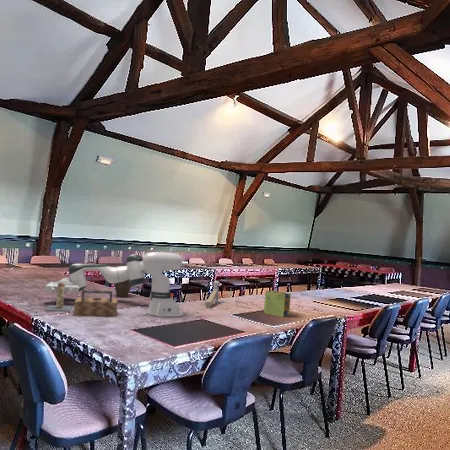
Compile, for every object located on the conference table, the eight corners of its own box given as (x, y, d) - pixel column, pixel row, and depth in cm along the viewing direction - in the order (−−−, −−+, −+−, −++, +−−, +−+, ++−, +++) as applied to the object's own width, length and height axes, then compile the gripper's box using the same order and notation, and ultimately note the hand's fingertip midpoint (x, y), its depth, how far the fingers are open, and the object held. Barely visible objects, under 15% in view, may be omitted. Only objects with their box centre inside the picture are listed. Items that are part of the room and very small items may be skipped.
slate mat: (72, 306, 267) (72, 305, 267) (70, 311, 254) (70, 310, 254) (48, 306, 264) (49, 305, 264) (45, 310, 250) (45, 309, 250)
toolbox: (116, 311, 264) (118, 288, 264) (116, 316, 251) (118, 292, 251) (76, 310, 258) (78, 286, 258) (73, 315, 245) (75, 290, 245)
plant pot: (110, 294, 322) (112, 273, 322) (129, 294, 328) (131, 274, 328) (113, 298, 309) (115, 276, 309) (134, 298, 315) (135, 276, 315)
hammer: (211, 295, 298) (219, 281, 327) (205, 294, 299) (214, 280, 328) (211, 315, 302) (219, 299, 330) (204, 315, 302) (213, 299, 331)
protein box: (283, 317, 289) (285, 294, 290) (263, 313, 298) (265, 291, 298) (289, 315, 298) (291, 293, 299) (269, 311, 306) (271, 290, 307)
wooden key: (63, 307, 261) (65, 283, 261) (62, 308, 257) (64, 283, 258) (56, 307, 260) (58, 282, 260) (55, 308, 257) (57, 283, 257)
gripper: (80, 292, 281) (78, 296, 267) (47, 290, 276) (43, 294, 262) (80, 282, 281) (78, 286, 267) (47, 281, 276) (44, 284, 262)
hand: (61, 290), depth 265 cm, fingers open, 8 cm apart
